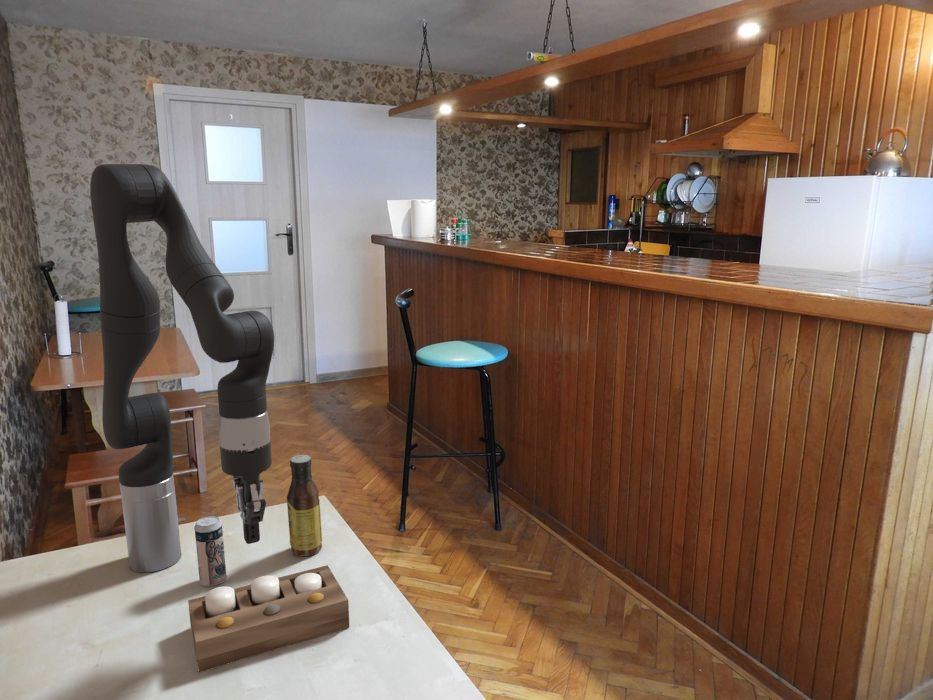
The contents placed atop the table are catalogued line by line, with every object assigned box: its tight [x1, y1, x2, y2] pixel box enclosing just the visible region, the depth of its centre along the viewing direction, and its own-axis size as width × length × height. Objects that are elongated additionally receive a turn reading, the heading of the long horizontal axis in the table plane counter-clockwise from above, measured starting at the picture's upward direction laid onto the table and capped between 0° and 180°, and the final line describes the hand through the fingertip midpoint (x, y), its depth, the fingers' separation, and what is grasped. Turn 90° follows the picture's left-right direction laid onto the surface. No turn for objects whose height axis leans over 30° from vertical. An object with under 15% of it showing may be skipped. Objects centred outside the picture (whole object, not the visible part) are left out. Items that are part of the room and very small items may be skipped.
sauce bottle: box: [286, 454, 323, 557], centre depth 129 cm, size 7×6×20 cm
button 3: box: [295, 573, 322, 595], centre depth 111 cm, size 4×4×3 cm
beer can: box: [193, 515, 228, 588], centre depth 119 cm, size 5×5×12 cm
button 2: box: [250, 575, 280, 605], centre depth 108 cm, size 4×4×3 cm
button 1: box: [204, 586, 236, 618], centre depth 104 cm, size 4×4×3 cm
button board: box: [187, 564, 350, 673], centre depth 106 cm, size 12×23×5 cm, turn 118°
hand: (252, 540), depth 106 cm, fingers closed
